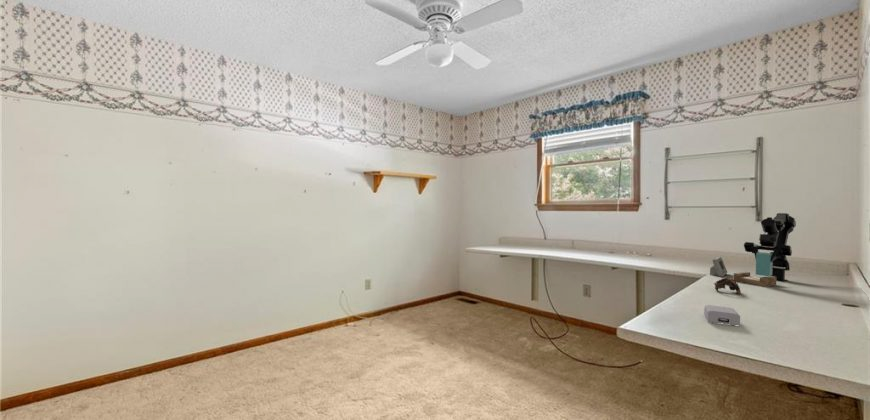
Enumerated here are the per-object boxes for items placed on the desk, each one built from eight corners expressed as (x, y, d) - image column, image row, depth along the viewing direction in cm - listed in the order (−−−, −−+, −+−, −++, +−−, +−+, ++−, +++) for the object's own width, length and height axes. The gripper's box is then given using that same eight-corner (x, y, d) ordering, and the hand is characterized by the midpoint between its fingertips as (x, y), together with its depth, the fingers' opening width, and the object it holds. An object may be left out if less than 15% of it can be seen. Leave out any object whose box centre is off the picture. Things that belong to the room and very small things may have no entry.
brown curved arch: (740, 297, 172) (729, 281, 173) (718, 301, 179) (708, 286, 181) (747, 287, 178) (737, 272, 180) (726, 292, 186) (717, 277, 188)
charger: (730, 316, 142) (739, 327, 129) (701, 312, 147) (707, 323, 134) (731, 304, 142) (740, 314, 129) (702, 300, 147) (708, 310, 134)
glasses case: (758, 273, 198) (759, 252, 197) (772, 275, 193) (772, 253, 193) (755, 274, 195) (756, 253, 194) (769, 276, 190) (770, 254, 190)
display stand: (745, 279, 210) (746, 271, 210) (776, 284, 197) (776, 276, 197) (733, 281, 205) (733, 273, 205) (764, 286, 192) (764, 278, 192)
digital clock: (722, 277, 215) (722, 259, 215) (704, 274, 223) (705, 257, 222) (733, 274, 224) (733, 257, 223) (715, 272, 231) (716, 255, 231)
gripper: (745, 227, 203) (738, 249, 197) (791, 230, 188) (785, 253, 182) (749, 240, 208) (742, 261, 202) (794, 244, 193) (788, 267, 187)
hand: (763, 260), depth 193 cm, fingers closed on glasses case, 5 cm apart
